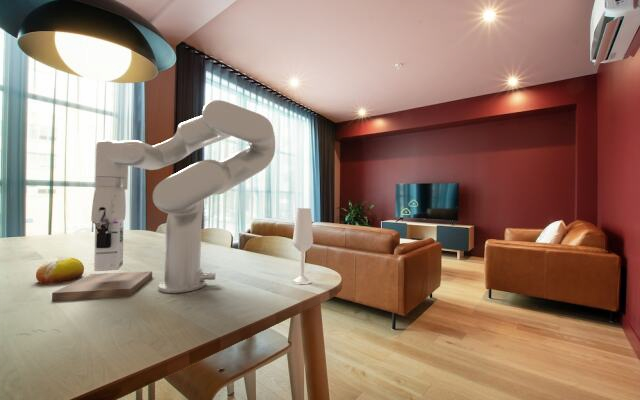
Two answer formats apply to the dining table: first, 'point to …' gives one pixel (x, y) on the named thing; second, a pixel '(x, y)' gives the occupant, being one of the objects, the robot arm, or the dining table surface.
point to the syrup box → (110, 249)
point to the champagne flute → (303, 236)
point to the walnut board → (103, 286)
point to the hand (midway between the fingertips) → (109, 245)
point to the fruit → (60, 271)
